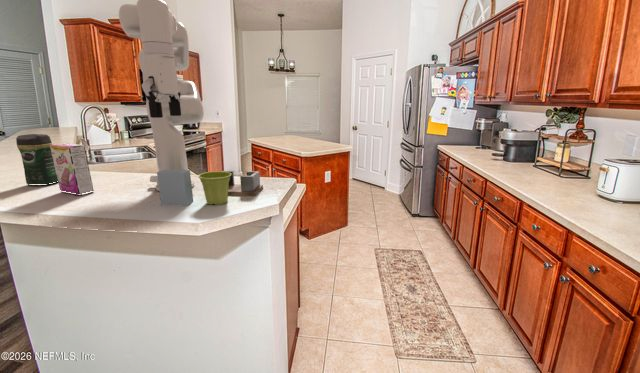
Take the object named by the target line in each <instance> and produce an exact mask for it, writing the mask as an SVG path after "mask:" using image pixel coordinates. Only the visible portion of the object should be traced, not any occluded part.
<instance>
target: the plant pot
mask: <svg viewBox="0 0 640 373" xmlns="http://www.w3.org/2000/svg"><path fill="white" fill-rule="evenodd" d="M223 171H224V170H220V171H219V170H218V171H215V170H214V171H207V172H203V173H200V174H198V178H199V180H200V182H201V185H202V189H203V192H204V197H205V200H206V204H208V205H215V206H216V205H217V206H218V205H223V204H225V203H227V202H228V198H229V195H228V187H229V180H230V176H231V173H229V172H223Z"/></svg>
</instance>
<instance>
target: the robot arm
mask: <svg viewBox="0 0 640 373" xmlns="http://www.w3.org/2000/svg"><path fill="white" fill-rule="evenodd" d="M118 18H119V24H120V26H121V29H122V30H123V32H124V34H126V36H128V37H129V38H133V39H136V40H137V39H138V40H140V41H141V46H142V48H141V49H140V50H139V52H138V55H137V56H138V57H137V58H138V64H139V66H140V70H141V72H142V81H143V82H142V84H141V87H142V91H143V92H144V93H143V94H144V96H145V98H146V104H145V106H146V107H145V108H146V112H147V116H148V120H149V122H150V126H151V131H152V132H151V133H152V137H153V144H154V150H155V157H156V165H157V172H159V171H162V170H189V168H188V160H187V151H186V142H185V137H184V134H183V133H182V132H181V131H180V130H179V129H178V128H177V127H175V125H186V124H187V125H190V124H192V125H193V124H199V123H200V122H202V120H203V119H204V107H203V103H202V98H201V96H200V92H199V89H198V87H197V85H196V84H195V83H194V82H193V81H190V80H179V79H178V73H177V72H184V71H186V70H189V69H188V68H189V66H190V52H189V50H190V48H189V36H188V30H187V28H186V27H185V25H184V24H183V23H182V22H180V21H177V18H176V15H175V14H173V12H172V10H171V9H169V6H168V4H167V3H166V2H165V1H164V0H137V2H136V4H131V3H130V4H129V3H124V4H122V5H121V6H120V7H119V10H118ZM149 182H150V183H156V185H155V190H156V191H158V192H160V191H159V184H158V177H157V175H151V176H150V178H149ZM191 184H192V188H194V187H195V182H194V181H192V180H191Z"/></svg>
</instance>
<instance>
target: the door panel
mask: <svg viewBox="0 0 640 373" xmlns="http://www.w3.org/2000/svg"><path fill="white" fill-rule="evenodd" d="M156 176H157V177H158V184H159V191H158V192H159V196H160V197H159V198H160V204H161V206H179V207H181V206H182V207H183V206H184V207H187V206H189V205H191V204H192V203H193V202H194V195H193V187H192V184H191V181H192V178H191V170H190V169H188V170H162V171H159V172H158V171H157V172H156Z"/></svg>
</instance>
